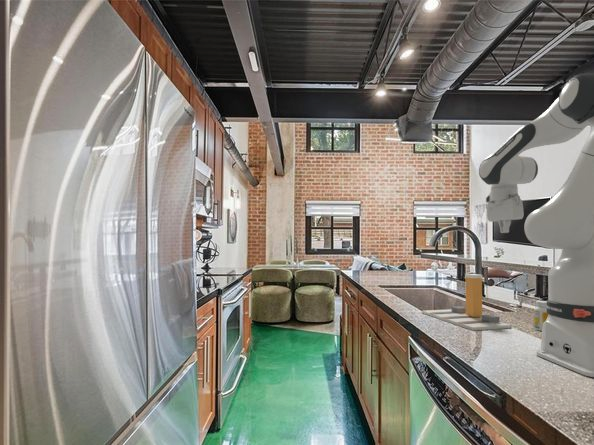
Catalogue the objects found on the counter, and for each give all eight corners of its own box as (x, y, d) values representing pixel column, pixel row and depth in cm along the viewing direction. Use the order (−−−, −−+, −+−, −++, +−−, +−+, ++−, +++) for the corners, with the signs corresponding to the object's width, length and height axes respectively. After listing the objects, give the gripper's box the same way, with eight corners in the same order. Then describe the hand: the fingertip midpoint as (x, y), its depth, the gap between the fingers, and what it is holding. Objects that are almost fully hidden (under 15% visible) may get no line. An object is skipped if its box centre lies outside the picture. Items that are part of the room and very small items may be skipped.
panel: (511, 327, 122) (511, 319, 122) (472, 330, 118) (472, 321, 118) (455, 311, 149) (455, 304, 149) (422, 313, 145) (422, 305, 145)
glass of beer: (482, 316, 134) (482, 274, 134) (473, 317, 133) (473, 275, 133) (474, 314, 138) (474, 273, 138) (465, 314, 137) (465, 274, 137)
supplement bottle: (531, 329, 120) (531, 301, 121) (537, 327, 124) (536, 299, 124) (550, 333, 116) (550, 303, 117) (555, 330, 120) (555, 301, 120)
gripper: (528, 192, 123) (529, 232, 122) (499, 199, 143) (500, 233, 143) (509, 192, 124) (510, 232, 123) (483, 199, 144) (484, 233, 143)
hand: (504, 232), depth 133 cm, fingers closed
